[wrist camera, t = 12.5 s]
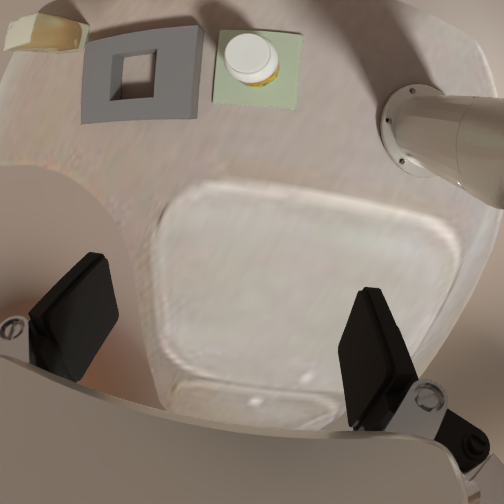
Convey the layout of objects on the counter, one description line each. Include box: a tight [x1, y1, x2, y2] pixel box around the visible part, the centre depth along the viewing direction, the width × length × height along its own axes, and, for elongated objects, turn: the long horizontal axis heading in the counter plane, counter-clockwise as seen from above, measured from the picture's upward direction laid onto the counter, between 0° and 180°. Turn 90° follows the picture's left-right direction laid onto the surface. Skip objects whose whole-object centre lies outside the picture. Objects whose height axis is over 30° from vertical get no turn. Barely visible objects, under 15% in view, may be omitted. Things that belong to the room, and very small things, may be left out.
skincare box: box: [3, 12, 90, 54], centre depth 22 cm, size 6×4×12 cm
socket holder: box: [81, 25, 205, 124], centre depth 29 cm, size 16×12×3 cm
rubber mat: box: [213, 30, 303, 110], centre depth 29 cm, size 10×10×1 cm
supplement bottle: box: [224, 33, 280, 88], centre depth 25 cm, size 5×5×10 cm
